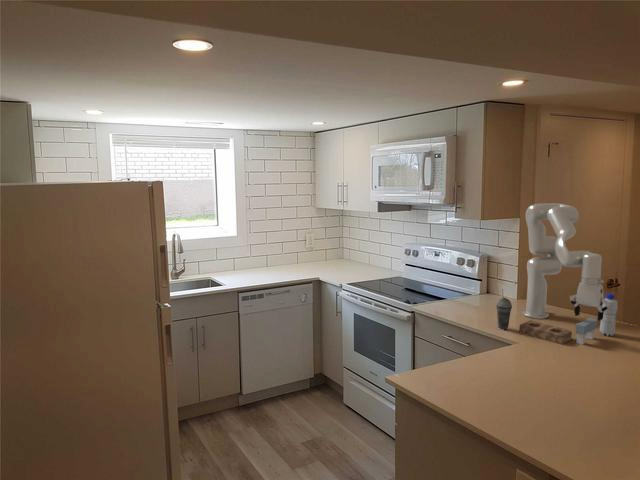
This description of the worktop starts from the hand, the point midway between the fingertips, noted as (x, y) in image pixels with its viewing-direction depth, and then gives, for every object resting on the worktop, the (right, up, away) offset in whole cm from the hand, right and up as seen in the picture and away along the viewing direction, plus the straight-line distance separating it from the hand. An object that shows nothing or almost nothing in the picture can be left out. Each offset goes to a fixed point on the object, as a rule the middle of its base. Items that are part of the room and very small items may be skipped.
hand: (588, 317), depth 216 cm
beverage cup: (-31, -9, +19) cm, 38 cm away
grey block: (0, -11, +2) cm, 11 cm away
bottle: (+14, -10, +10) cm, 20 cm away
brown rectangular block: (-16, -10, +9) cm, 21 cm away
